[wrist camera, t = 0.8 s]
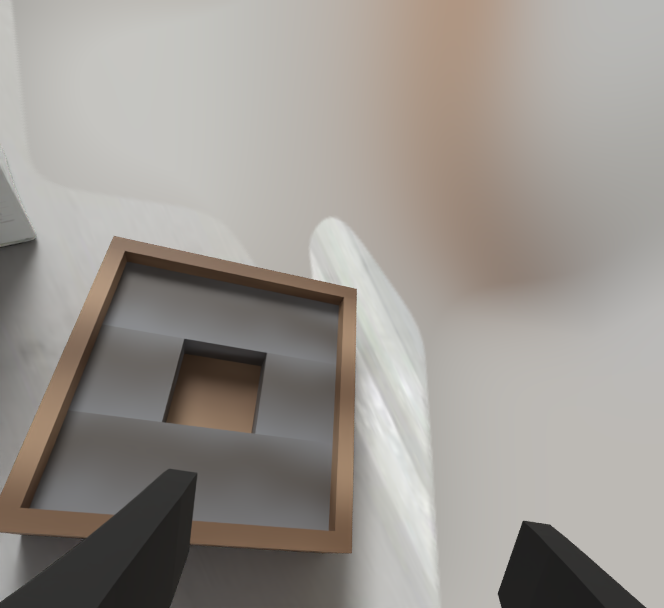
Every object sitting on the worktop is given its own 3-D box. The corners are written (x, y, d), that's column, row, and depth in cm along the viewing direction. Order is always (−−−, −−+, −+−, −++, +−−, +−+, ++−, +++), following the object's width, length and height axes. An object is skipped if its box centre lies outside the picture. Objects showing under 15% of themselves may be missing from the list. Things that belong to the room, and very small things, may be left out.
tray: (325, 553, 21) (351, 553, 18) (20, 534, 18) (-16, 530, 15) (336, 319, 29) (356, 288, 25) (122, 276, 25) (113, 236, 22)
